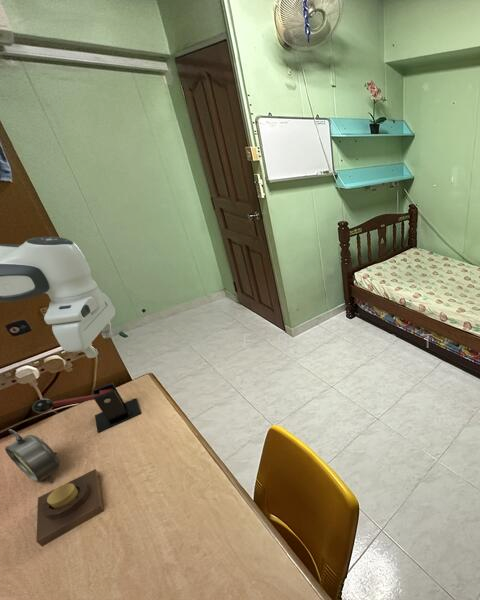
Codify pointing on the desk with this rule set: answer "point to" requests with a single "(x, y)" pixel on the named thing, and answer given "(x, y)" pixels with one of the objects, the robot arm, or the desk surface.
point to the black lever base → (113, 408)
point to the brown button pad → (70, 509)
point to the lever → (62, 402)
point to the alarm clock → (33, 457)
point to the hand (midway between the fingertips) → (101, 346)
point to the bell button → (62, 495)
